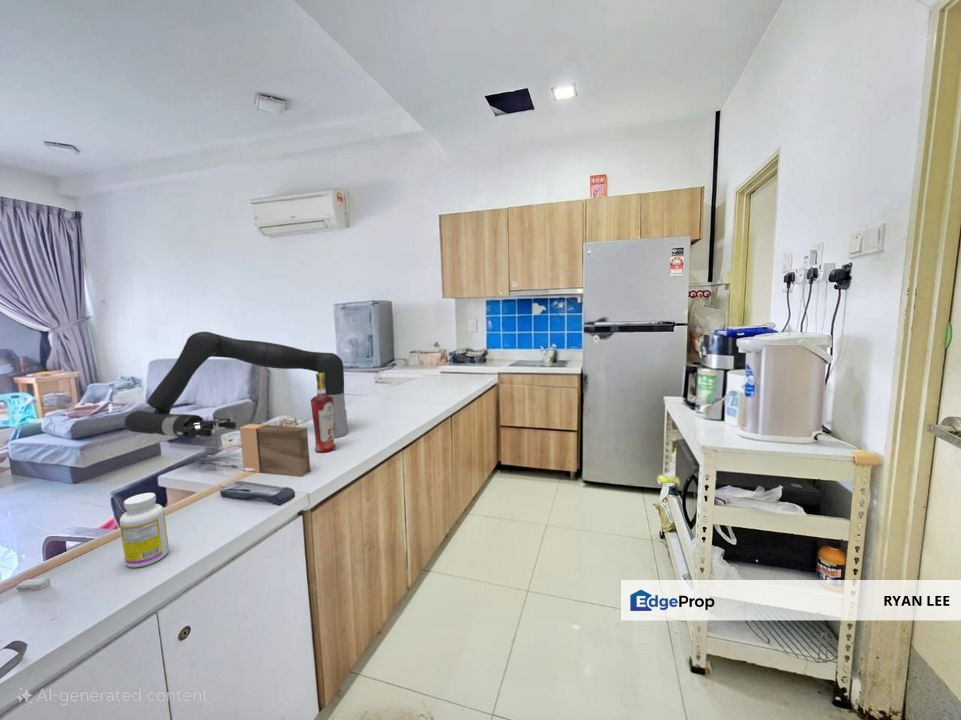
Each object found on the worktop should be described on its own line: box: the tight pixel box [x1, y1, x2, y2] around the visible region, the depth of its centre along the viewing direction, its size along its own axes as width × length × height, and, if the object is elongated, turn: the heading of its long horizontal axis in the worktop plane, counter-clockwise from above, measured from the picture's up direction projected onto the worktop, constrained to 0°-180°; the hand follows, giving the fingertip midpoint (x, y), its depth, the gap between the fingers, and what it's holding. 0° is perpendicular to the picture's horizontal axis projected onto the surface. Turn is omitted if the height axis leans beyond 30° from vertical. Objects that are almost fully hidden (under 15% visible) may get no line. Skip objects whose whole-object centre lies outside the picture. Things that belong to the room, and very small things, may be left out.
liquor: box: [310, 372, 336, 453], centre depth 136 cm, size 7×7×28 cm
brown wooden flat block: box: [257, 424, 311, 478], centre depth 118 cm, size 4×15×14 cm, turn 76°
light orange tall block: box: [239, 423, 267, 474], centre depth 120 cm, size 4×6×14 cm, turn 76°
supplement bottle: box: [119, 492, 170, 568], centre depth 77 cm, size 7×7×13 cm
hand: (223, 429), depth 122 cm, fingers open, 8 cm apart
